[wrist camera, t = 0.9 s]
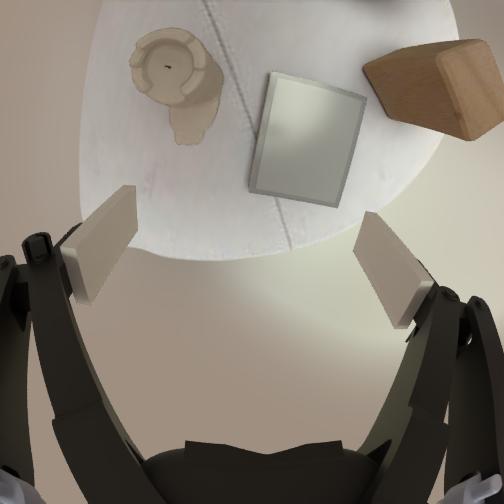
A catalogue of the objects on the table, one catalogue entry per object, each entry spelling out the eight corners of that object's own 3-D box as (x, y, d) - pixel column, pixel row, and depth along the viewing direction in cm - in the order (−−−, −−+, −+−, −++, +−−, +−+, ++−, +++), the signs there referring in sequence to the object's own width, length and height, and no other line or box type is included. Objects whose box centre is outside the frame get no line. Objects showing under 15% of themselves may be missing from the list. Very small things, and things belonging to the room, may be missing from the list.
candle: (164, 143, 38) (106, 181, 21) (179, 56, 31) (127, 26, 14) (210, 149, 39) (184, 191, 22) (228, 61, 32) (214, 27, 15)
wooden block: (388, 120, 37) (472, 146, 20) (358, 67, 32) (438, 55, 15) (428, 98, 34) (515, 117, 17) (403, 47, 30) (488, 37, 12)
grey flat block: (270, 73, 33) (272, 71, 31) (359, 97, 35) (367, 97, 32) (248, 186, 42) (248, 192, 40) (332, 201, 44) (338, 208, 41)
